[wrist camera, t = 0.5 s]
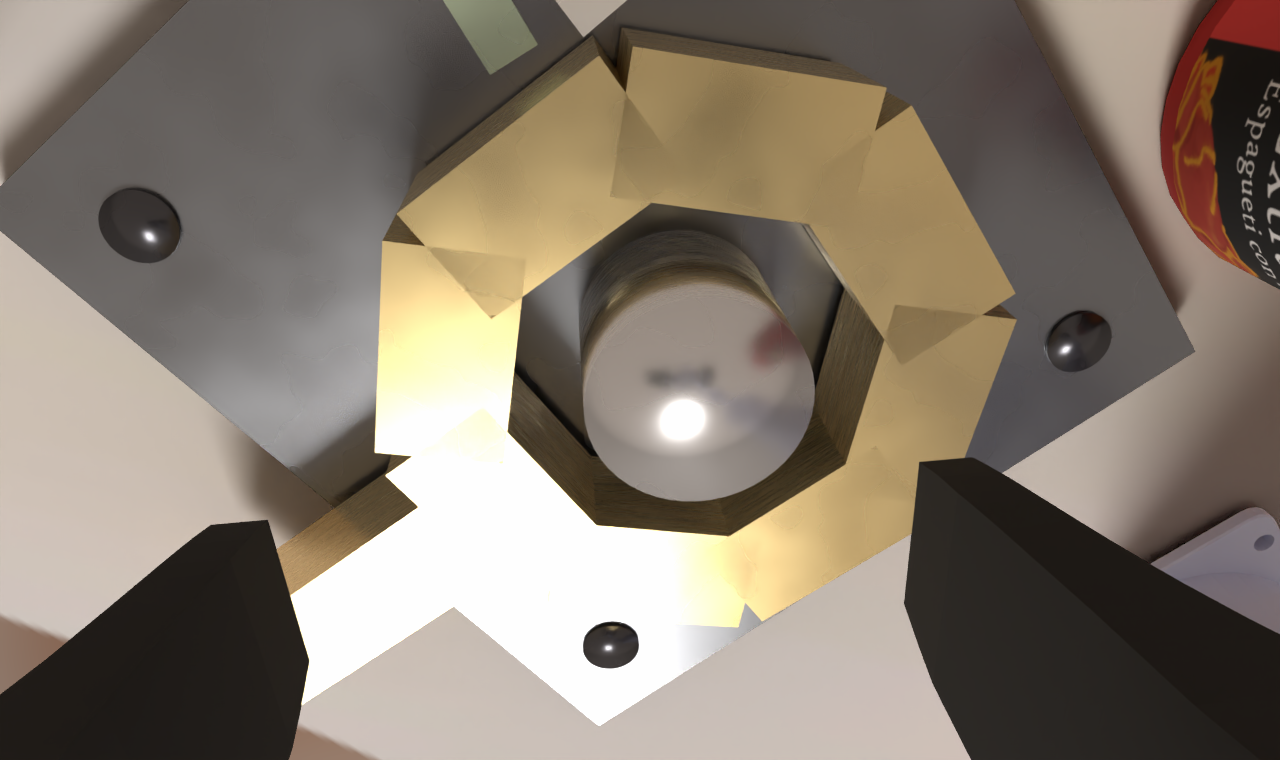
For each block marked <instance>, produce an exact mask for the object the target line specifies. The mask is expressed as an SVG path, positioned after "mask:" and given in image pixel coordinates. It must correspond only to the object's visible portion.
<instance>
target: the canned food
mask: <svg viewBox="0 0 1280 760" xmlns="http://www.w3.org/2000/svg"><path fill="white" fill-rule="evenodd" d="M1161 156H1162V169H1163V172H1164V176H1165V179H1166V183H1167V186H1168V189H1169V193H1170V196H1171V197H1172V199H1173V201H1174V202H1175V204H1176V206H1177V207H1178V209H1179V211H1180V212H1181V214H1182V216H1183V217H1184V219H1185V220H1186V222H1187V223H1188V224H1189V226H1190V227H1191V229H1192V230H1193V232H1194V233H1195V234H1196V236H1197V237H1198V238H1199V239H1200V240H1201V241H1202V242H1203V243H1204V244H1205V245H1206V246H1207V247H1208V248H1209V249H1211V250H1212V251H1213V252H1214V253H1215V254H1216V255H1217V256H1218V257H1219V258H1221V259H1223V260H1225V261H1227V262H1229V263H1231V264H1233V265H1235V266H1236V267H1238V268H1240V269H1242V270H1244V271H1246V272H1248V273H1250V274H1252V275H1253V276H1255V277H1257V278H1259V279H1261V280H1263V281H1265V282H1267V283H1269V284H1270V285H1272V286H1274V287H1276V288H1278V289H1280V0H1217V2H1216V3H1215V4H1214V6H1213V7H1212V9H1211V10H1210V11H1209V13H1208V14H1207V15H1206V17H1205V18H1204V19H1203V21H1202V22H1201V24H1200V25H1199V26H1198V28H1197V30H1196V32H1195V34H1194V35H1193V37H1192V39H1191V41H1190V43H1189V45H1188V47H1187V49H1186V51H1185V52H1184V54H1183V56H1182V58H1181V60H1180V62H1179V64H1178V67H1177V70H1176V72H1175V75H1174V78H1173V81H1172V84H1171V87H1170V90H1169V93H1168V96H1167V99H1166V103H1165V110H1164V116H1163V122H1162V129H1161Z"/></svg>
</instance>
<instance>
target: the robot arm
mask: <svg viewBox="0 0 1280 760" xmlns="http://www.w3.org/2000/svg"><path fill="white" fill-rule="evenodd" d="M904 605H905V607H906V610H907V613H908V616H909V619H910V622H911V625H912V628H913V631H914V634H915V637H916V639H917V642H918V645H919V648H920V651H921V653H922V656H923V659H924V661H925V664H926V667H927V669H928V672H929V675H930V677H931V680H932V683H933V685H934V687H935V689H936V691H937V693H938V695H939V697H940V699H941V701H942V703H943V705H944V707H945V709H946V711H947V713H948V715H949V717H950V719H951V721H952V723H953V725H954V727H955V729H956V731H957V733H958V735H959V737H960V739H961V741H962V743H963V745H964V747H965V749H966V751H967V753H968V754H969V756H970V758H971V760H1280V528H1279V527H1278V525H1277V523H1276V521H1275V519H1274V518H1273V517H1272V516H1271V515H1270V514H1268V513H1267V512H1266V511H1265V510H1264V509H1262V508H1258V507H1253V508H1248V509H1245V510H1243V511H1241V512H1239V513H1237V514H1235V515H1234V516H1232V517H1230V518H1228V519H1227V520H1225V521H1223V522H1222V523H1220V524H1218V525H1216V526H1215V527H1213V528H1211V529H1209V530H1208V531H1206V532H1204V533H1203V534H1201V535H1199V536H1197V537H1196V538H1194V539H1192V540H1190V541H1189V542H1187V543H1185V544H1183V545H1182V546H1180V547H1178V548H1177V549H1175V550H1173V551H1171V552H1170V553H1168V554H1166V555H1164V556H1163V557H1161V558H1159V559H1158V560H1156V561H1154V562H1152V563H1151V564H1149V563H1148V562H1146V561H1144V560H1143V559H1141V558H1139V557H1137V556H1136V555H1134V554H1132V553H1131V552H1129V551H1127V550H1126V549H1124V548H1122V547H1121V546H1119V545H1117V544H1116V543H1114V542H1112V541H1111V540H1109V539H1107V538H1106V537H1104V536H1102V535H1101V534H1099V533H1098V532H1096V531H1094V530H1093V529H1091V528H1089V527H1088V526H1086V525H1085V524H1083V523H1081V522H1080V521H1078V520H1076V519H1075V518H1073V517H1072V516H1070V515H1068V514H1067V513H1065V512H1064V511H1062V510H1060V509H1059V508H1057V507H1056V506H1054V505H1052V504H1051V503H1049V502H1048V501H1046V500H1044V499H1043V498H1041V497H1039V496H1038V495H1036V494H1035V493H1033V492H1031V491H1030V490H1028V489H1027V488H1025V487H1023V486H1022V485H1020V484H1018V483H1017V482H1015V481H1014V480H1012V479H1010V478H1009V477H1007V476H1005V475H1004V474H1002V473H1000V472H999V471H997V470H995V469H993V468H992V467H990V466H988V465H986V464H985V463H983V462H981V461H979V460H977V459H975V458H973V457H968V458H957V459H946V460H935V461H923V462H919V469H918V478H917V487H916V497H915V506H914V516H913V525H912V534H911V544H910V553H909V562H908V572H907V581H906V590H905V600H904ZM309 662H310V660H309V657H308V653H307V650H306V646H305V643H304V640H303V636H302V633H301V630H300V626H299V623H298V620H297V616H296V613H295V610H294V606H293V603H292V600H291V596H290V593H289V589H288V586H287V583H286V579H285V576H284V573H283V569H282V566H281V563H280V559H279V556H278V553H277V549H276V546H275V543H274V539H273V536H272V533H271V529H270V526H269V522H268V520H261V521H250V522H239V523H227V524H216V525H210V526H209V527H207V528H206V529H205V530H203V531H202V532H201V533H199V534H198V535H196V536H195V537H194V538H193V539H191V540H190V541H189V542H187V543H186V544H185V545H184V546H182V547H181V548H180V549H179V550H177V551H176V552H175V553H174V554H172V555H171V556H170V557H169V558H168V559H166V560H165V561H164V562H163V563H162V564H160V565H159V566H158V567H157V568H156V569H154V570H153V571H152V572H151V573H150V574H148V575H147V576H146V577H145V578H144V579H142V580H141V581H140V582H139V583H138V584H136V585H135V586H134V587H133V588H132V589H130V590H129V591H128V592H127V593H126V594H125V595H123V596H122V597H121V598H120V599H119V600H117V601H116V602H115V603H114V604H113V605H111V606H110V607H109V608H108V609H106V610H105V611H104V612H103V613H102V614H100V615H99V616H98V617H97V618H96V619H94V620H93V621H92V622H91V623H90V624H88V625H87V626H86V627H85V628H83V629H82V630H81V631H80V632H79V633H77V634H76V635H75V636H74V637H73V638H71V639H70V640H69V641H68V642H67V643H65V644H64V645H63V646H62V647H61V648H59V649H58V650H57V651H56V652H54V653H53V654H52V655H51V656H49V657H48V658H47V659H46V660H44V661H43V662H42V663H41V664H39V665H38V666H37V667H35V668H34V669H33V670H32V671H30V672H29V673H28V674H26V675H25V676H24V677H23V678H21V679H20V680H19V681H17V682H16V683H15V684H13V685H12V686H11V687H9V688H8V689H7V690H6V691H4V692H3V693H2V694H0V760H288V759H289V757H290V754H291V751H292V748H293V743H294V738H295V734H296V729H297V724H298V720H299V715H300V710H301V705H302V700H303V695H304V689H305V684H306V678H307V673H308V668H309Z"/></svg>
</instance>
